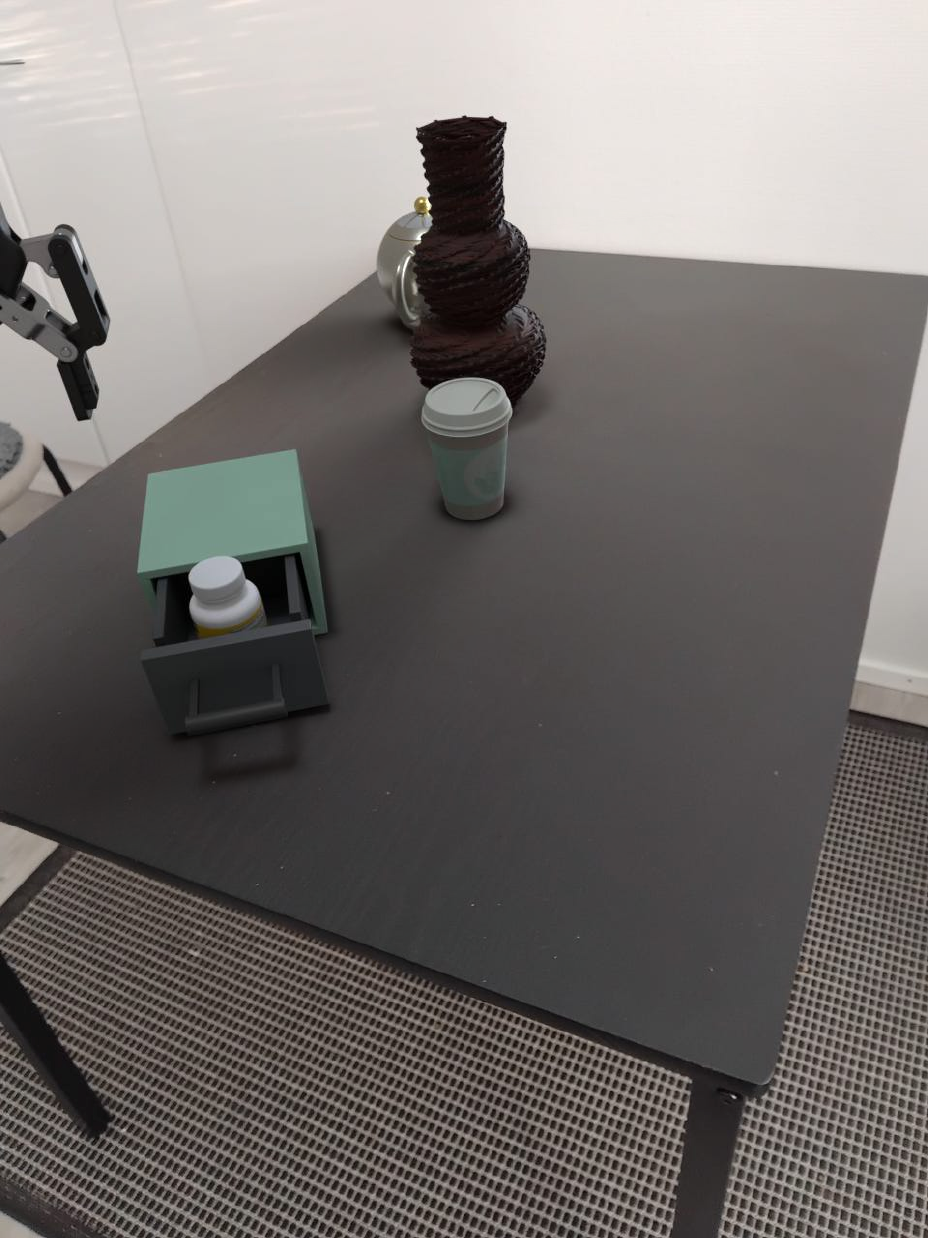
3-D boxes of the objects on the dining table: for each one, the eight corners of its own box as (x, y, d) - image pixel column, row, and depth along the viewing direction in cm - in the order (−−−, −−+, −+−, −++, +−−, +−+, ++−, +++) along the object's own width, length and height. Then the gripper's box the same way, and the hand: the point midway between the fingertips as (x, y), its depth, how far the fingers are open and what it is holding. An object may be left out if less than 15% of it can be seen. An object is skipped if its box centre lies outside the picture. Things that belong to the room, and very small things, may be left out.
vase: (416, 445, 108) (379, 155, 89) (416, 382, 120) (384, 115, 101) (554, 432, 108) (547, 139, 89) (541, 371, 120) (532, 100, 101)
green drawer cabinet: (328, 632, 85) (307, 542, 78) (169, 662, 83) (136, 572, 77) (314, 533, 97) (296, 448, 90) (175, 558, 95) (147, 473, 89)
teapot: (409, 296, 141) (395, 177, 131) (498, 302, 137) (491, 179, 127) (356, 350, 129) (336, 223, 118) (452, 358, 124) (440, 227, 114)
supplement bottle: (199, 667, 79) (166, 571, 73) (256, 636, 82) (229, 540, 76) (232, 701, 76) (200, 603, 70) (291, 667, 79) (265, 570, 72)
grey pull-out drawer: (335, 753, 72) (316, 676, 67) (166, 786, 71) (135, 711, 66) (315, 593, 88) (298, 521, 83) (175, 619, 86) (150, 547, 81)
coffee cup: (462, 539, 94) (451, 427, 86) (416, 501, 99) (402, 394, 92) (534, 507, 97) (529, 396, 89) (485, 472, 103) (477, 366, 95)
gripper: (47, 91, 51) (138, 380, 61) (-241, 129, 49) (-97, 417, 60) (25, 125, 45) (130, 437, 55) (-302, 168, 44) (-131, 480, 54)
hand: (12, 426), depth 57 cm, fingers open, 8 cm apart
